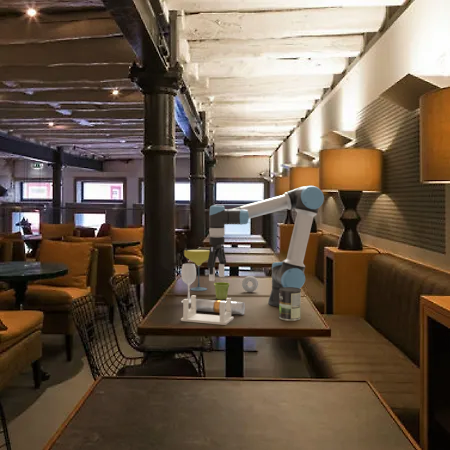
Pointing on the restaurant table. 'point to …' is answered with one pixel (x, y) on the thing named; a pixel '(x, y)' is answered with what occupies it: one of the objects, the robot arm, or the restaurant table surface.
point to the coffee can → (289, 303)
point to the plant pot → (221, 290)
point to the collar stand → (191, 314)
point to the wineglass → (188, 276)
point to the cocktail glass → (197, 261)
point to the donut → (247, 279)
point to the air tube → (215, 306)
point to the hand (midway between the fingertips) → (216, 278)
